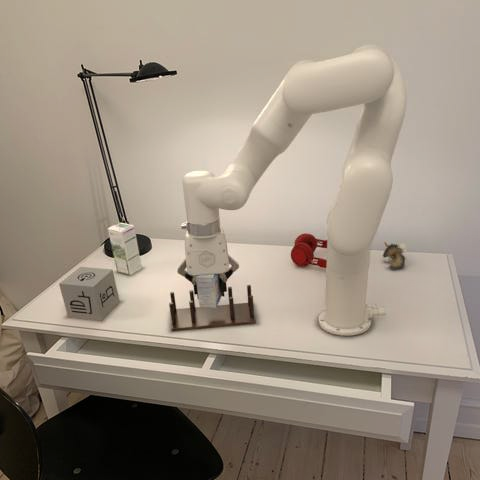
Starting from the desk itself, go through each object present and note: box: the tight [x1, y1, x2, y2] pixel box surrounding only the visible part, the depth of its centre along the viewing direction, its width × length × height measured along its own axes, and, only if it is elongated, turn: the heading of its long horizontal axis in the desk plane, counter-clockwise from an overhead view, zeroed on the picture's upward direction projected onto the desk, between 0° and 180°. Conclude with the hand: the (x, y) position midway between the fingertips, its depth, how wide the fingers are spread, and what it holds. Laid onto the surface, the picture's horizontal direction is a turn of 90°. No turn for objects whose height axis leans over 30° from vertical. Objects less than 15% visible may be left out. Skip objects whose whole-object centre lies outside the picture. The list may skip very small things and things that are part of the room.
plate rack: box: [168, 284, 257, 332], centre depth 130 cm, size 21×10×7 cm, turn 94°
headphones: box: [290, 232, 327, 269], centre depth 155 cm, size 15×7×20 cm
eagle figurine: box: [382, 241, 408, 271], centre depth 151 cm, size 8×7×9 cm
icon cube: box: [58, 266, 120, 322], centre depth 137 cm, size 10×10×10 cm
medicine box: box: [196, 274, 223, 308], centre depth 127 cm, size 8×4×9 cm, turn 170°
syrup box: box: [107, 222, 143, 276], centre depth 155 cm, size 6×6×14 cm
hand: (210, 294), depth 128 cm, fingers closed on medicine box, 5 cm apart
